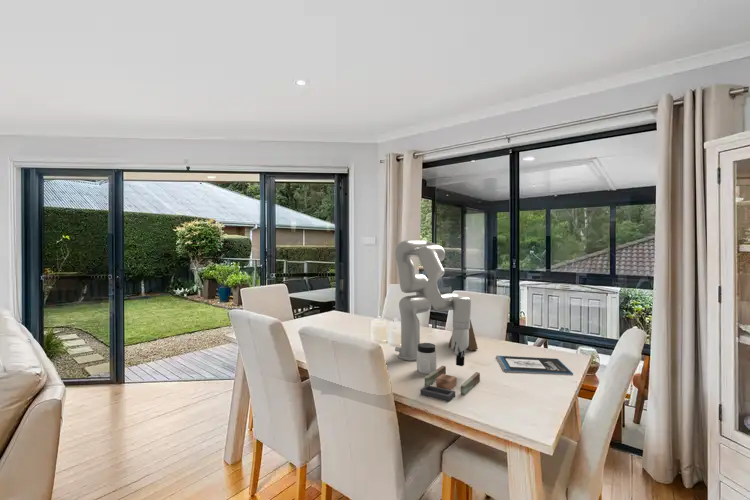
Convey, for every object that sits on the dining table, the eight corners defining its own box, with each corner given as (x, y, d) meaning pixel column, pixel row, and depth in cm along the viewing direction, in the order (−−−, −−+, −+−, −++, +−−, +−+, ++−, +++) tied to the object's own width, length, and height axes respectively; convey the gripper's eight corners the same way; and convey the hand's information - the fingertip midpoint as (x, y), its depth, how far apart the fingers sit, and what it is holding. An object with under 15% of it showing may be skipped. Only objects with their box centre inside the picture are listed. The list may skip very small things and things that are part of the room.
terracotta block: (436, 387, 158) (436, 378, 158) (442, 383, 163) (442, 373, 163) (450, 391, 155) (450, 381, 155) (456, 386, 160) (456, 376, 160)
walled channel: (424, 386, 160) (424, 377, 160) (442, 373, 175) (442, 365, 175) (464, 395, 150) (464, 386, 150) (479, 380, 165) (479, 372, 165)
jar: (415, 372, 176) (415, 346, 175) (418, 367, 183) (418, 342, 183) (434, 374, 173) (434, 348, 173) (437, 369, 181) (437, 343, 180)
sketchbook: (573, 376, 172) (573, 371, 172) (503, 373, 176) (503, 368, 176) (557, 361, 193) (557, 356, 193) (495, 358, 198) (495, 354, 198)
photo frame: (468, 340, 231) (468, 298, 231) (477, 350, 210) (477, 304, 209) (443, 340, 232) (443, 298, 231) (450, 351, 210) (449, 305, 209)
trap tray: (420, 394, 151) (420, 389, 151) (427, 389, 156) (427, 384, 156) (449, 401, 144) (449, 396, 144) (455, 396, 149) (455, 391, 149)
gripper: (459, 320, 179) (458, 358, 180) (446, 326, 167) (445, 368, 168) (475, 322, 175) (474, 362, 176) (463, 329, 163) (461, 372, 164)
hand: (460, 365), depth 172 cm, fingers closed
